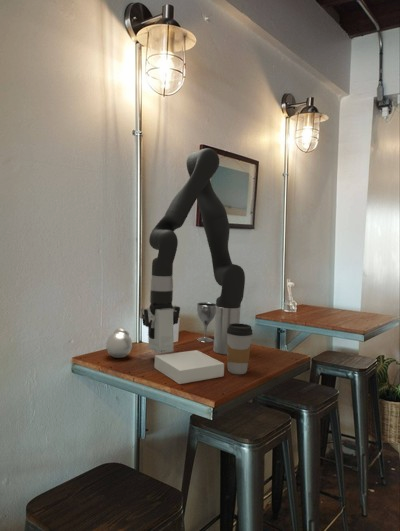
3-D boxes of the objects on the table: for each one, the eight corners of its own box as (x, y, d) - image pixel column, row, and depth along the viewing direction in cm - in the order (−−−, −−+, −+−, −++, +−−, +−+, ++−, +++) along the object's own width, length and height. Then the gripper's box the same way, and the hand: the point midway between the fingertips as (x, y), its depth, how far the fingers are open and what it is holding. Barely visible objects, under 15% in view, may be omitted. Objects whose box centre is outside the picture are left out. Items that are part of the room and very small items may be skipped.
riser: (196, 361, 145) (196, 350, 145) (223, 376, 132) (224, 363, 131) (154, 367, 136) (154, 355, 136) (179, 384, 123) (179, 370, 123)
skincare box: (173, 352, 143) (175, 309, 142) (158, 354, 140) (159, 310, 138) (161, 346, 150) (163, 304, 149) (146, 348, 147) (147, 306, 145)
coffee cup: (224, 366, 142) (226, 322, 140) (249, 367, 141) (251, 323, 140) (224, 374, 133) (227, 328, 132) (251, 376, 133) (254, 329, 132)
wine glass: (191, 339, 174) (193, 303, 173) (203, 336, 180) (205, 301, 179) (206, 343, 169) (208, 306, 168) (218, 340, 175) (220, 304, 174)
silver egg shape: (137, 356, 148) (139, 328, 147) (120, 363, 139) (121, 333, 139) (117, 351, 152) (118, 324, 151) (99, 357, 144) (100, 329, 143)
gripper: (174, 286, 150) (173, 332, 151) (137, 288, 142) (136, 337, 144) (185, 289, 144) (183, 337, 145) (147, 291, 136) (146, 342, 137)
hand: (160, 337), depth 144 cm, fingers closed on skincare box, 6 cm apart
